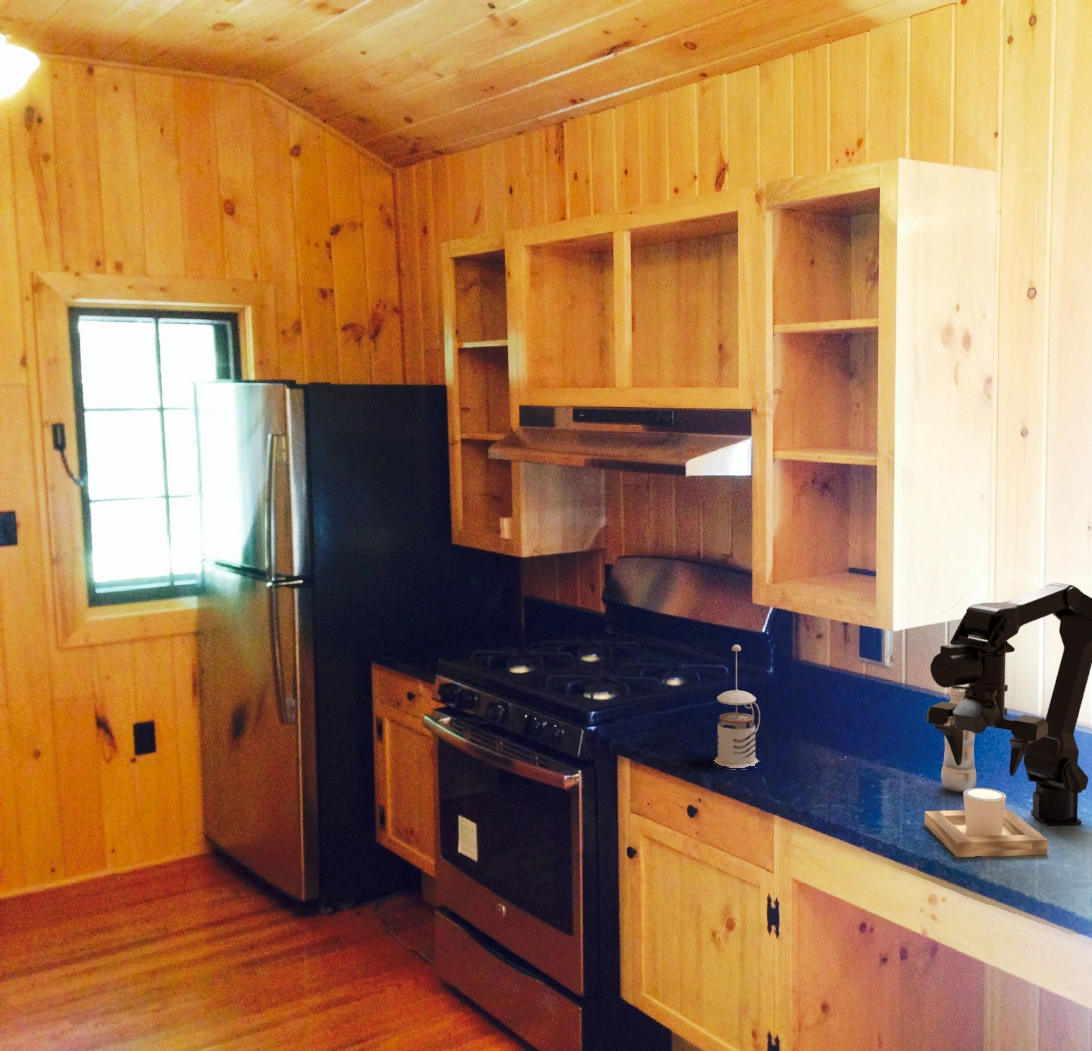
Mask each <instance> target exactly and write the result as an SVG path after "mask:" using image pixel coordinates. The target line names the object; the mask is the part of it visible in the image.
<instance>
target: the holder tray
mask: <svg viewBox="0 0 1092 1051" xmlns="http://www.w3.org/2000/svg"><path fill="white" fill-rule="evenodd" d="M924 826H925V827H926V826H927V827H926V828H927V829H928V828H929V829H928V830H929V831H930V830H931V831H930V832H931V833H932V834H933V835H934V836H935V835H936V836H935V837H936V838H937V839H938V840H939V839H940V840H939V841H940V842H941V841H942V842H941V843H942V844H943V843H944V844H943V845H944V846H945V847H946V848H947V849H948V850H949V851H950V852H951V853H952V852H953V853H952V854H953V855H954V856H955V857H956V858H973V857H975V856H982V857H1008V856H1009V857H1011V856H1040V855H1042V856H1044V855H1046V856H1047V855H1048V842H1049V841H1048V838H1046V837H1045V836H1044V835H1042V834H1041V832H1038V831H1037V830H1036V829H1034V828H1033V827H1032V826H1031V825H1029V823H1027V822H1026V821H1025V820H1023V819H1022V818H1021V817H1020V816H1018V815H1017V814H1016V813H1014V811H1012V810H1011V809H1010V808H1005V812H1004V820H1003V828H1002V835H1001V836H970V835H968V834H967V832H966V820H965V809H964V810H963V809H961V810H960V809H959V810H927V811H926V810H925V811H924ZM975 858H976V857H975Z"/></svg>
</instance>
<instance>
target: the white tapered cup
mask: <svg viewBox="0 0 1092 1051" xmlns="http://www.w3.org/2000/svg"><path fill="white" fill-rule="evenodd" d="M962 794H963V805H964V807H963V808H964V810H965V820H966V832H967V834H968V835H970V836H1001V835H1002V828H1003V820H1004V812H1005V809H1006V804H1007V803H1006V801H1007V795H1006V793H1004V792H1002V791H1000V790H997V789H993V788H985V787H974V788H971V789H967V790H965V791H964V792H962Z"/></svg>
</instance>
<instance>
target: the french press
mask: <svg viewBox="0 0 1092 1051" xmlns="http://www.w3.org/2000/svg"><path fill="white" fill-rule="evenodd" d="M741 650H742V647H741V646H740V645H739V644H734V645H732V647H731V651H733V652H735V689H734V690H728V691H723V692H722V693H721V694H719V695H718V696H717V697H716V699H717V702H719V703H721V704H724V705H729V706H730V705H731V706H735V712H733V711H732V712H725V713H722V714H720V715H719V716H718V718H719V720H720V721H718V722H717V756H716V757H715V758H714V759H715V760H714V759H713V761H715V763H717V764H719V765H721V766H727V767H729V768H745V767H748V766H755V764H756V763H758V761H759V760H758V758H757V757H756V733H757V731H758V729H759V726H760V722H761V712H760V708H759V705H758V704H757V703H756V700H757V697H755V696H754V695H753V694H752V693H750V692H747V691H746V690H739V689H738V652H740V651H741ZM753 704H754V705H755V706H756V708H757V711H758V723H757V726H756V723H754V720H755V712H754V708H753ZM747 705H749V706H747ZM738 706H744V707H745V708H746V709H751V710H752V714H748V713H745V712H744V713H743V712H742V713H741V712H738ZM747 723H749V728H748V727H747ZM726 725H727V726H732V727H734V728H732V727H724V726H726ZM748 737H749V738H748ZM747 738H748V739H747Z"/></svg>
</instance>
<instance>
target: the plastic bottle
mask: <svg viewBox="0 0 1092 1051" xmlns="http://www.w3.org/2000/svg"><path fill="white" fill-rule="evenodd" d="M966 687H967V686H964V685H960V686H954V687H949V688H950V690H949V691H950V692H949V698H950V700H949V702H948V703H954V704H959V703H960V702H961V701H962V700H963V699H964V696H965V690H966ZM975 734H976V733H973V732H971V731H966V730H963V755H962V762H961V765H959V766H958V765H956V762H955V759H954V757H953V754H952V751H951V748H950V745H949V743H948V741H947V739H946V737H945V736H944V753H943V754H944V756H943V763H942V767H941V772H940V778H941V784H942V785H943V788H944V789H946V790H948V791H951V792H956V793H964V791H965V790H967V789H971V788H976V784H977V772H976V767H975V752H974V748H975V747H974V746H975V744H974V743H975Z"/></svg>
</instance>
